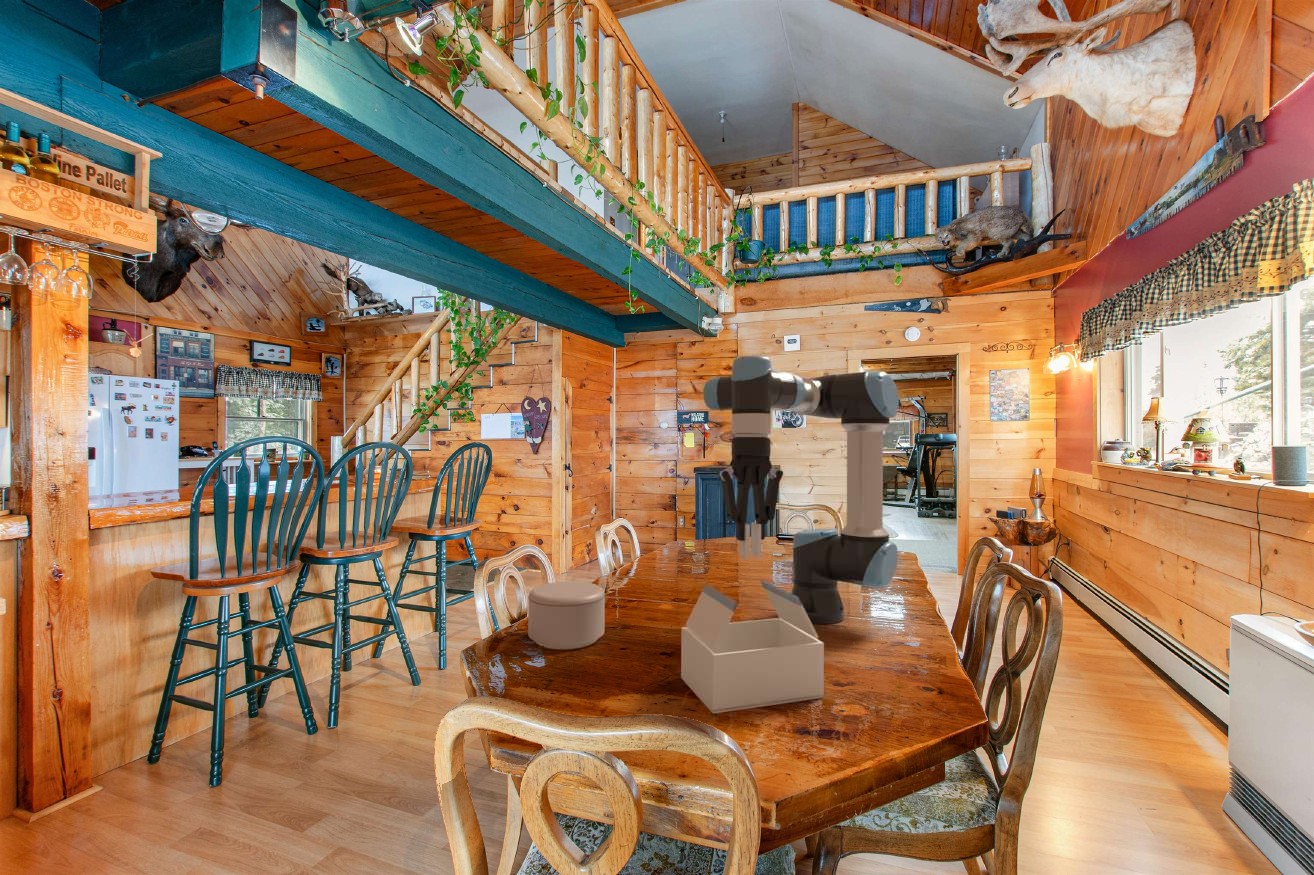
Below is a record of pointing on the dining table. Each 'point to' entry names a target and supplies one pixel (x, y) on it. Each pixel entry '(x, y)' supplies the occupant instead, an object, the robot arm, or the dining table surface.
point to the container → (566, 614)
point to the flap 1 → (711, 615)
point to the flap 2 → (789, 608)
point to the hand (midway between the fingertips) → (750, 556)
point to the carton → (753, 665)
